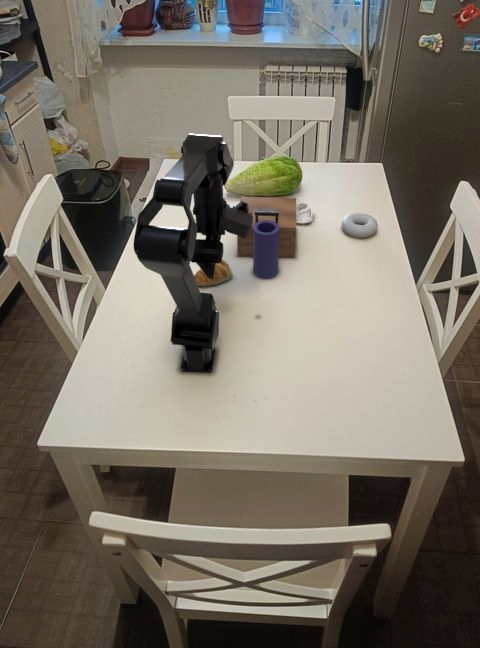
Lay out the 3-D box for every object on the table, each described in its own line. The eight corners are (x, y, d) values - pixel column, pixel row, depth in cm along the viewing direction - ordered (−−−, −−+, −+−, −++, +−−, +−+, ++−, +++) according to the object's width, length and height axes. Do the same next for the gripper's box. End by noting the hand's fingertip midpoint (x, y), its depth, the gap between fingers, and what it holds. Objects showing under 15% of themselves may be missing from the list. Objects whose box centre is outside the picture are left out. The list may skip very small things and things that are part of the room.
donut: (348, 218, 148) (335, 234, 141) (349, 207, 146) (337, 223, 139) (381, 226, 145) (370, 243, 138) (383, 216, 142) (372, 232, 136)
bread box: (294, 258, 133) (296, 228, 127) (237, 256, 133) (237, 227, 127) (294, 229, 143) (296, 201, 137) (242, 227, 144) (241, 199, 138)
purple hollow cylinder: (281, 276, 127) (283, 231, 119) (258, 281, 126) (258, 236, 117) (272, 262, 132) (273, 218, 123) (250, 267, 130) (249, 223, 121)
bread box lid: (296, 230, 126) (297, 215, 123) (236, 228, 127) (236, 213, 124) (296, 200, 137) (296, 186, 134) (241, 199, 138) (240, 184, 135)
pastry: (203, 292, 122) (202, 280, 120) (188, 279, 126) (186, 267, 124) (234, 278, 127) (234, 265, 124) (219, 265, 130) (218, 253, 128)
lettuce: (217, 170, 158) (222, 162, 146) (290, 155, 163) (302, 146, 151) (225, 208, 160) (232, 203, 148) (298, 193, 165) (310, 187, 152)
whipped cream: (313, 229, 145) (316, 214, 141) (290, 227, 145) (292, 212, 141) (311, 212, 150) (314, 198, 147) (289, 210, 150) (291, 196, 146)
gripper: (246, 227, 91) (248, 294, 102) (253, 178, 105) (253, 241, 115) (185, 225, 92) (192, 292, 102) (199, 176, 105) (204, 240, 116)
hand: (213, 264), depth 109 cm, fingers open, 9 cm apart
